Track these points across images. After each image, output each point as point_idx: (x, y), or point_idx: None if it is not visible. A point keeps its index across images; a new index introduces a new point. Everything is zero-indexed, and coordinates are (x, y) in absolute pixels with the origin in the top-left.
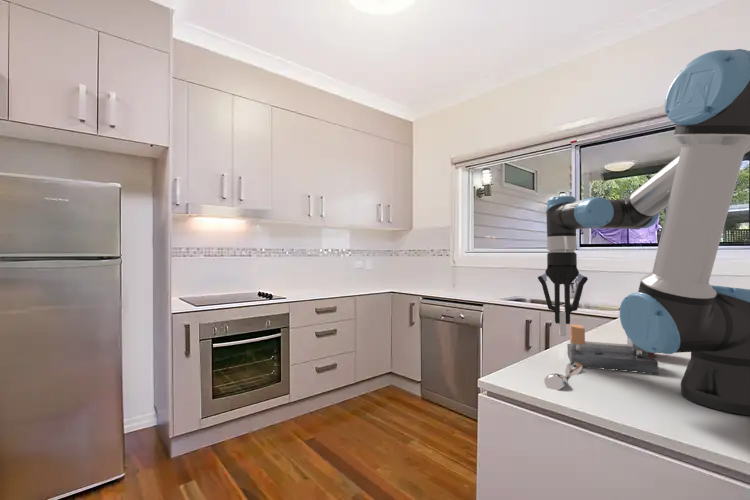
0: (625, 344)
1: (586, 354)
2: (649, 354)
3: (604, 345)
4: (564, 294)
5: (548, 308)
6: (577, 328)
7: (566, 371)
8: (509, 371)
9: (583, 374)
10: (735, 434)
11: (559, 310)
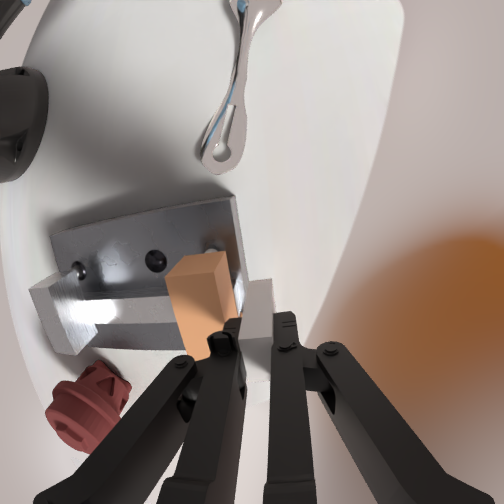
0: (98, 321)
1: (186, 226)
2: (96, 363)
3: (138, 296)
4: (237, 462)
5: (342, 345)
6: (194, 288)
7: (243, 117)
8: (382, 65)
9: (199, 123)
10: (49, 7)
11: (273, 347)
